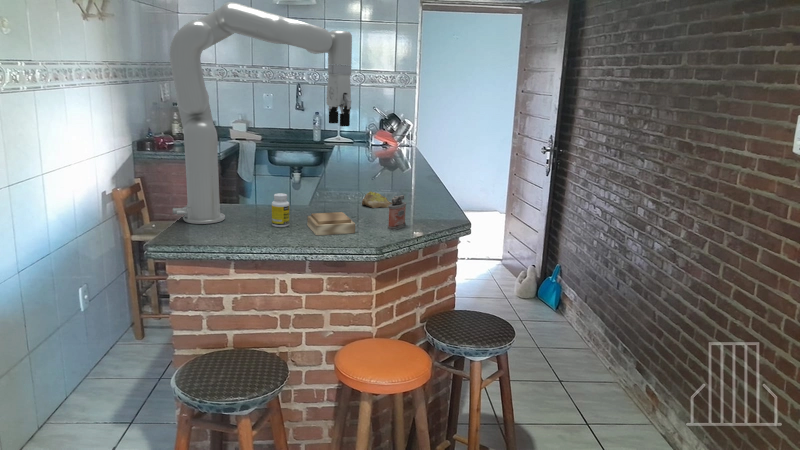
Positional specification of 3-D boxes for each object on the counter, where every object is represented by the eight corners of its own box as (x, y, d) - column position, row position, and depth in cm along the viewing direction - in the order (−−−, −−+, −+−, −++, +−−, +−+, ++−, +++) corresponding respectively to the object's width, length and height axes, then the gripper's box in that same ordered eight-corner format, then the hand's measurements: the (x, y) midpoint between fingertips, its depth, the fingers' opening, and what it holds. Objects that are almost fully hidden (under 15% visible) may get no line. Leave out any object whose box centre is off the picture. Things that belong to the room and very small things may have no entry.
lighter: (394, 230, 185) (395, 199, 183) (385, 228, 187) (386, 197, 184) (407, 225, 192) (409, 195, 189) (398, 223, 194) (400, 193, 191)
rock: (361, 208, 224) (354, 201, 214) (368, 191, 225) (361, 183, 215) (392, 217, 221) (386, 211, 211) (398, 200, 222) (393, 193, 212)
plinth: (316, 235, 176) (316, 222, 175) (307, 225, 187) (307, 213, 186) (355, 233, 180) (355, 220, 179) (344, 223, 191) (344, 211, 190)
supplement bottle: (285, 228, 183) (285, 196, 180) (269, 226, 184) (268, 195, 181) (292, 223, 188) (291, 193, 185) (276, 222, 189) (275, 192, 186)
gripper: (319, 70, 197) (319, 122, 202) (338, 71, 183) (338, 127, 187) (340, 70, 201) (339, 122, 205) (361, 72, 186) (360, 127, 190)
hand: (339, 124), depth 196 cm, fingers open, 9 cm apart
